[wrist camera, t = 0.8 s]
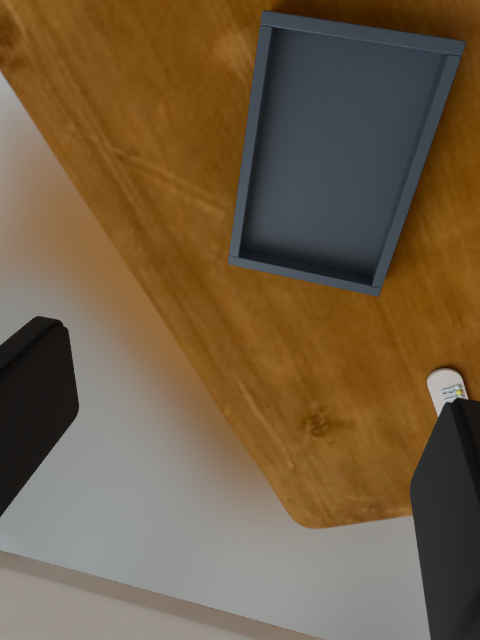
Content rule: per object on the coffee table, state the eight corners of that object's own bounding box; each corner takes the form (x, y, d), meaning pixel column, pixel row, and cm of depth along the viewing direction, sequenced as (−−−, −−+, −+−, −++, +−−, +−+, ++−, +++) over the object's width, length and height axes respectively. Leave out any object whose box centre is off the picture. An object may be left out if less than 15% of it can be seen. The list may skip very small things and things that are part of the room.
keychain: (484, 452, 43) (452, 457, 44) (483, 448, 44) (450, 453, 45) (459, 368, 39) (424, 376, 40) (457, 364, 40) (423, 372, 41)
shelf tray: (268, 13, 30) (262, 9, 28) (457, 42, 29) (467, 41, 26) (234, 252, 39) (227, 264, 37) (376, 283, 38) (378, 296, 36)
